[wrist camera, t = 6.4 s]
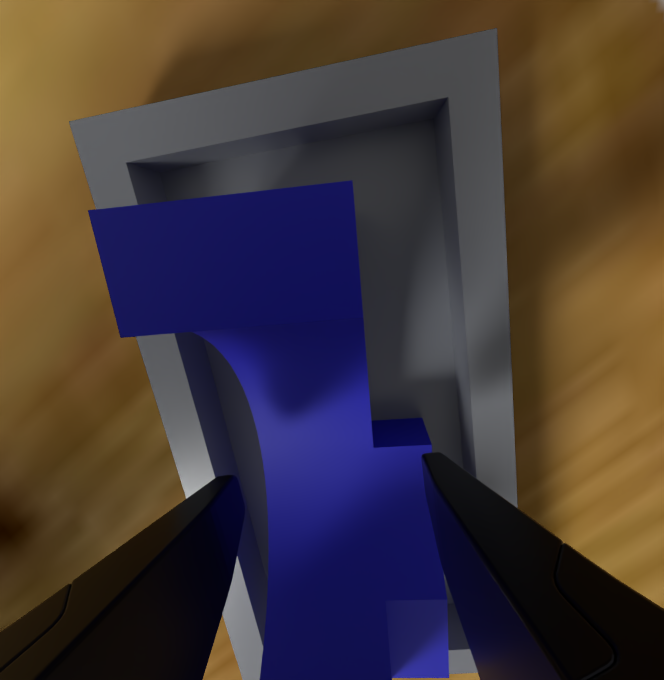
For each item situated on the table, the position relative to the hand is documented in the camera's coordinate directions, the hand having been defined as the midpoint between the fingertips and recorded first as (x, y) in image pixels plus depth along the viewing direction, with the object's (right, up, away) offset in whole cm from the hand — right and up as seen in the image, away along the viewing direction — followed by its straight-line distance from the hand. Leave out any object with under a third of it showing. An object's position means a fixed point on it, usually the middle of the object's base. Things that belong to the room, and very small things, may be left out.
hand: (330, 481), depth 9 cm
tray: (0, +1, +3) cm, 4 cm away
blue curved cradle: (0, +1, +3) cm, 3 cm away
